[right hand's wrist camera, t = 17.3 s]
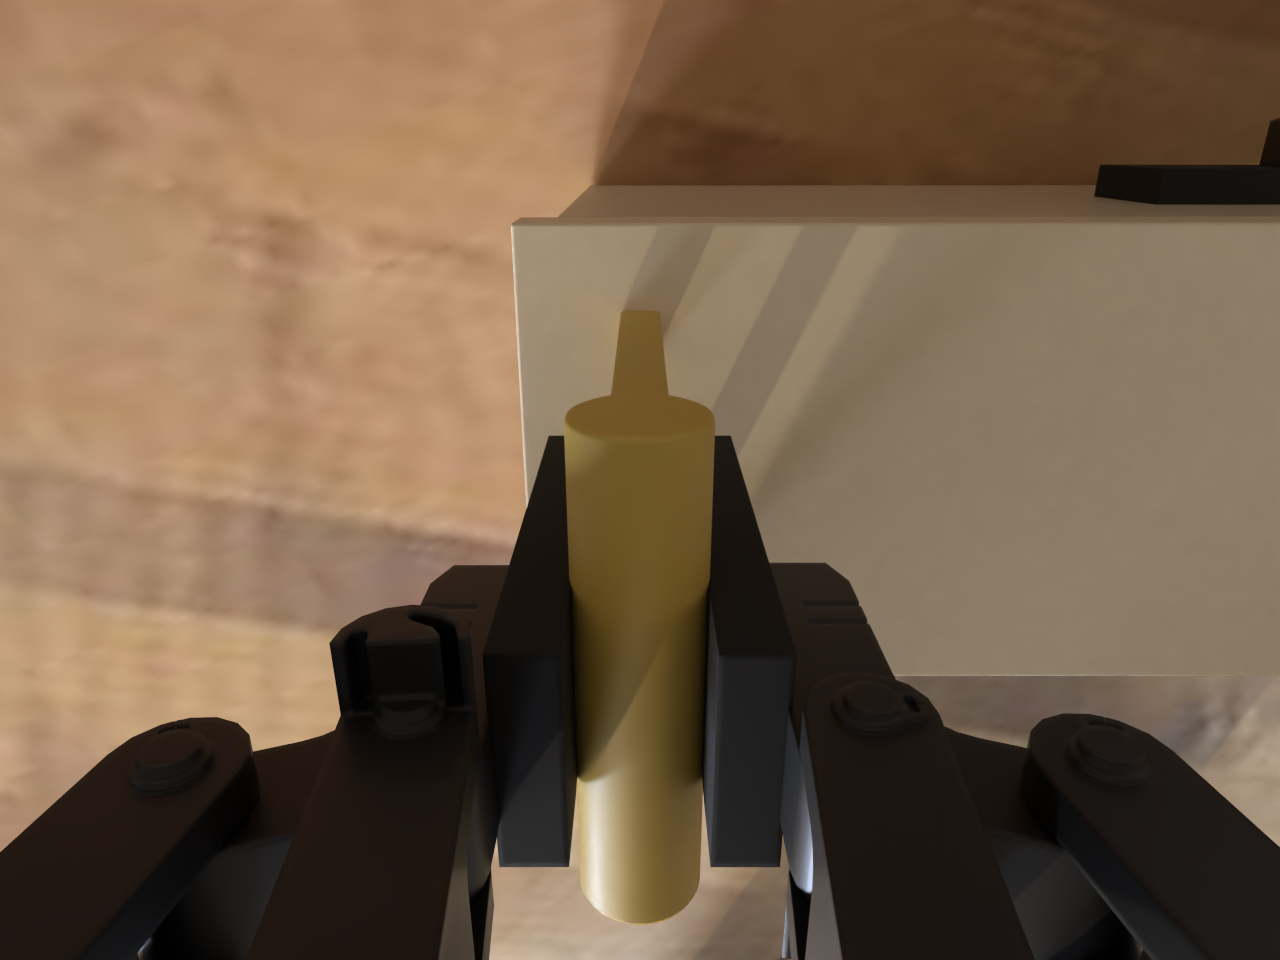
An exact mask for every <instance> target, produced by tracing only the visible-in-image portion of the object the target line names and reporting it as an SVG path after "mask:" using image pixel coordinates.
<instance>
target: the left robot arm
mask: <svg viewBox="0 0 1280 960" xmlns="http://www.w3.org/2000/svg"><path fill="white" fill-rule="evenodd" d="M1094 197H1102V198H1109V199H1117V200H1124V201H1132V202H1140V203H1147V204H1155V205H1280V118H1278V119H1275V120H1273V121H1270V125H1269V129H1268V133H1267V137H1266V141H1265V145H1264V149H1263V152H1262V156H1261V160H1260V164H1259V165H1100V168H1099V173H1098V179H1097V184H1096V189H1095V194H1094Z"/></svg>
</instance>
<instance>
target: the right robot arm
mask: <svg viewBox="0 0 1280 960" xmlns="http://www.w3.org/2000/svg"><path fill="white" fill-rule="evenodd" d="M330 649H331V656H332V662H333V668H334V674H335V681H336V687H337V693H338V700H339V706H340V712H341V716H340V719H339V721H338V724H337V727H336V729H335V730H334V731H332V732H330V733H327V734H325V735H323V736H319V737H316V738H312V739H309V740H305V741H301V742H297V743H292V744H287V745H283V746H278V747H273V748H269V749H264V750H259V751H254V752H253V750H252V745H251V740H250V736H249V734H248V733H247V732H246V731H245V730H244V729H243V728H242V727H241V726H240V725H239V724H238V723H235V722H232V721H228V720H225V719H221V718H218V717H209V718H188V719H184V720H177V721H175V722H174V721H173V722H169V723H166V724H163V725H159V726H157V727H155V728H153V729H150V730H148V731H146V732H144V733H141V734H139V735H137V736H134V737H132V738H131V739H129V740H128V741H126V742H125V743H124V744H122V745H121V746H119V747H118V748H116V749H115V750H114V751H112V752H111V753H109V754H108V755H107V756H106V757H105V758H104V759H102V760H101V761H100V762H99V763H98V764H97V765H96V766H95V767H94V768H92V769H91V770H90V771H89V772H88V773H87V774H86V775H85V776H84V777H83V778H81V779H80V780H79V781H78V782H77V783H76V784H75V785H74V786H73V787H72V788H70V789H69V790H68V791H67V792H66V793H65V794H64V795H63V796H62V797H61V798H59V799H58V800H57V801H56V802H55V803H54V804H53V805H52V806H51V807H50V808H48V809H47V810H46V811H45V812H44V813H43V814H42V815H41V816H40V817H39V818H37V819H36V820H35V821H34V822H33V823H32V824H31V825H30V826H29V827H28V828H26V829H25V830H24V831H23V832H22V833H21V834H20V835H19V836H18V837H17V838H15V839H14V840H13V841H12V842H11V843H10V844H9V845H8V846H7V847H6V848H4V849H3V850H2V851H1V852H0V960H489V953H490V942H491V932H492V921H493V910H494V900H493V889H492V877H491V863H492V858H493V853H494V848H495V843H496V839H497V842H498V854H499V867H569V860H570V849H571V839H572V829H573V818H574V808H575V798H576V787H577V748H576V719H575V690H574V661H573V632H572V603H571V584H570V580H569V555H568V527H567V499H566V471H565V442H564V436H548V440H547V443H546V446H545V449H544V453H543V456H542V459H541V463H540V466H539V469H538V473H537V476H536V479H535V482H534V486H533V489H532V492H531V496H530V499H529V502H528V506H527V509H526V512H525V515H524V519H523V522H522V525H521V529H520V532H519V535H518V538H517V542H516V545H515V548H514V552H513V555H512V558H511V562H510V565H454V566H453V567H451V568H450V569H449V570H447V571H446V572H445V573H444V574H442V575H441V576H440V577H438V578H437V579H436V580H435V581H433V582H432V583H431V584H430V586H429V588H428V590H427V592H426V594H425V596H424V599H423V601H422V603H421V605H407V606H400V607H392V608H386V609H383V610H380V611H377V612H374V613H371V614H368V615H365V616H362V617H360V618H358V619H357V620H355V621H353V622H352V623H350V624H348V625H347V626H345V627H343V628H342V629H341V630H340V631H339V632H338V633H337V635H336V636H335V637H334V638H333V640H332V641H331V642H330ZM702 783H703V793H704V804H705V814H706V825H707V835H708V845H709V856H710V866H711V867H780V859H781V847H782V834H783V837H784V842H785V847H786V852H787V857H788V862H789V877H788V889H787V900H786V912H785V924H784V935H783V947H782V958H785V959H791V960H1280V847H1279V846H1278V845H1277V844H1275V843H1274V842H1273V841H1272V840H1271V839H1270V838H1269V837H1268V836H1267V835H1265V834H1264V833H1263V832H1262V831H1261V830H1260V829H1259V828H1258V827H1257V826H1256V825H1254V824H1253V823H1252V822H1251V821H1250V820H1249V819H1248V818H1247V817H1246V816H1244V815H1243V814H1242V813H1241V812H1240V811H1239V810H1238V809H1237V808H1236V807H1234V806H1233V805H1232V804H1231V803H1230V802H1229V801H1228V800H1227V799H1226V798H1224V797H1223V796H1222V795H1221V794H1220V793H1219V792H1218V791H1217V790H1216V789H1214V788H1213V787H1212V786H1211V785H1210V784H1209V783H1208V782H1207V781H1206V780H1204V779H1203V778H1202V777H1201V776H1200V775H1199V774H1198V773H1197V772H1196V771H1195V770H1193V769H1192V768H1191V767H1190V766H1189V765H1188V764H1187V763H1186V762H1185V761H1183V760H1182V759H1181V758H1180V757H1179V756H1178V755H1177V754H1176V753H1175V752H1173V751H1172V750H1171V749H1169V748H1168V747H1166V746H1165V745H1164V744H1162V743H1161V742H1159V741H1158V740H1157V739H1155V738H1154V737H1152V736H1151V735H1149V734H1148V733H1145V732H1143V731H1141V730H1139V729H1136V728H1134V727H1132V726H1129V725H1127V724H1125V723H1123V722H1120V721H1117V720H1114V719H1110V718H1104V717H1102V716H1095V715H1091V714H1060V715H1056V716H1053V717H1049V718H1046V719H1042V720H1041V721H1040V722H1039V723H1038V724H1037V725H1036V726H1035V727H1034V728H1033V729H1032V730H1031V732H1030V737H1029V741H1028V746H1027V748H1023V747H1019V746H1014V745H1009V744H1004V743H1000V742H995V741H990V740H985V739H981V738H977V737H973V736H969V735H966V734H962V733H959V732H956V731H954V730H951V729H949V728H947V727H944V725H943V723H942V720H941V718H940V715H939V713H938V712H937V710H936V709H935V708H934V706H933V705H932V703H931V702H930V700H929V699H928V698H927V697H925V696H924V695H923V694H921V693H920V692H918V691H917V690H915V689H914V688H913V687H911V686H910V685H908V684H905V683H903V682H900V681H897V680H896V679H895V677H894V675H893V673H892V671H891V669H890V667H889V664H888V662H887V660H886V658H885V656H884V654H883V652H882V650H881V647H880V645H879V643H878V641H877V639H876V637H875V635H874V633H873V630H872V628H871V626H870V624H867V618H866V616H865V613H864V611H863V609H862V607H861V606H859V601H858V599H857V596H856V594H855V592H854V590H853V588H852V586H851V584H850V582H849V580H847V579H846V578H845V577H844V576H842V575H841V574H840V573H838V572H837V571H836V570H834V569H833V568H832V567H831V566H829V565H828V564H827V563H769V560H768V557H767V554H766V550H765V547H764V544H763V541H762V537H761V534H760V531H759V527H758V524H757V521H756V517H755V514H754V511H753V507H752V504H751V501H750V498H749V494H748V491H747V488H746V484H745V481H744V478H743V474H742V471H741V468H740V464H739V461H738V458H737V455H736V451H735V448H734V445H733V441H732V438H731V436H715V444H714V474H713V503H712V532H711V562H710V581H709V584H708V613H707V643H706V672H705V702H704V731H703V761H702Z"/></svg>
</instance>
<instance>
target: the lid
mask: <svg viewBox="0 0 1280 960" xmlns="http://www.w3.org/2000/svg"><path fill="white" fill-rule="evenodd" d="M511 236H512V254H513V272H514V290H515V309H516V327H517V345H518V363H519V382H520V400H521V418H522V436H523V454H524V473H525V491H526V509H527V506H528V502H529V499H530V496H531V492H532V489H533V486H534V482H535V479H536V476H537V473H538V469H539V466H540V463H541V459H542V456H543V453H544V449H545V446H546V443H547V440H548V436H564V442H565V471H566V499H567V527H568V555H569V580H570V584H571V603H572V632H573V661H574V690H575V719H576V748H577V808H578V836H579V864H580V881H581V886H582V889H583V891H584V893H585V895H586V897H587V898H588V900H589V901H590V902H591V904H592V905H593V906H594V907H595V908H596V909H597V910H598V911H599V912H601V913H602V914H604V915H605V916H607V917H609V918H611V919H613V920H616V921H619V922H622V923H627V924H634V925H645V924H653V923H657V922H661V921H664V920H666V919H669V918H671V917H673V916H674V915H676V914H678V913H679V912H680V911H681V910H683V909H684V908H685V907H686V906H687V905H688V903H689V902H690V901H691V899H692V898H693V896H694V894H695V893H696V891H697V888H698V885H699V879H700V855H701V825H702V796H703V783H702V761H703V731H704V702H705V672H706V643H707V613H708V584H709V581H710V562H711V532H712V503H713V474H714V444H715V436H731V438H732V441H733V445H734V448H735V451H736V455H737V458H738V461H739V464H740V468H741V471H742V474H743V478H744V481H745V484H746V488H747V491H748V494H749V498H750V501H751V504H752V507H753V511H754V514H755V517H756V521H757V524H758V527H759V531H760V534H761V537H762V541H763V544H764V547H765V550H766V554H767V557H768V560H769V563H827V564H828V565H829V566H831V567H832V568H833V569H834V570H836V571H837V572H838V573H840V574H841V575H842V576H844V577H845V578H846V579H847V580H849V582H850V584H851V586H852V588H853V590H854V592H855V594H856V596H857V599H858V601H859V606H861V607H862V609H863V611H864V613H865V616H866V618H867V624H870V626H871V628H872V630H873V633H874V635H875V637H876V639H877V641H878V643H879V645H880V647H881V650H882V652H883V654H884V656H885V658H886V660H887V662H888V664H889V667H890V669H891V671H892V673H893V675H894V676H1280V217H577V218H520V219H518V220H517V221H515V222H514V223H512V225H511Z"/></svg>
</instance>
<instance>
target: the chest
mask: <svg viewBox="0 0 1280 960" xmlns="http://www.w3.org/2000/svg"><path fill="white" fill-rule="evenodd" d="M1095 189H1096V185H592V186H590V187H589V188H588V189H587V190H586V191H585V192H583V193H582V194H581V195H580V196H579V197H578V198H577V199H576V200H575V201H574V202H573V203H572V204H571V205H570V206H569V207H568V208H567V209H566V210H565V211H564V212H563V213H562V214H560V215H559V216H558V217H557V218H577V217H1280V205H1155V204H1147V203H1140V202H1132V201H1124V200H1117V199H1109V198H1102V197H1094V194H1095Z"/></svg>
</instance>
